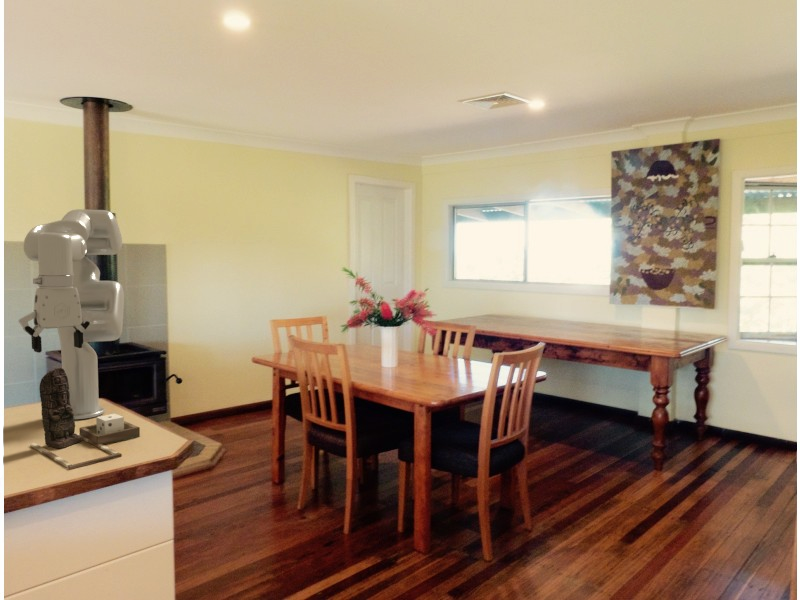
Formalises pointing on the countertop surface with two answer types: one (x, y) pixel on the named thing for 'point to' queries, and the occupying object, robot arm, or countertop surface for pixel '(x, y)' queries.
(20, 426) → the countertop surface
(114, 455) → the brown rectangular frame
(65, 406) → the statue
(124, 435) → the dice tray
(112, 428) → the die
